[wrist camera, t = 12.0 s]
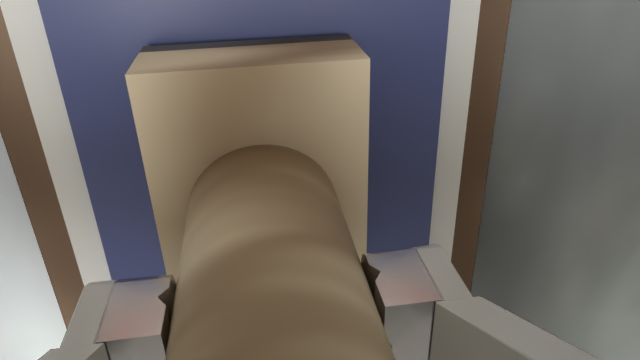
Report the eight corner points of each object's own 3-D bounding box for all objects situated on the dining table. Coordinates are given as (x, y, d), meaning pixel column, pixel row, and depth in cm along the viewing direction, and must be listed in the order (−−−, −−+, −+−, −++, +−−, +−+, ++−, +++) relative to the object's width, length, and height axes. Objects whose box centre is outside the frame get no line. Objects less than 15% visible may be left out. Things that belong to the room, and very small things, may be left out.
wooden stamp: (348, 34, 13) (545, 254, 5) (348, 259, 16) (466, 620, 8) (142, 46, 12) (-34, 323, 4) (186, 277, 16) (135, 686, 7)
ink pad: (472, -97, 14) (499, -98, 12) (434, 287, 20) (449, 315, 18) (-5, -84, 12) (-35, -83, 11) (110, 324, 19) (100, 358, 17)
